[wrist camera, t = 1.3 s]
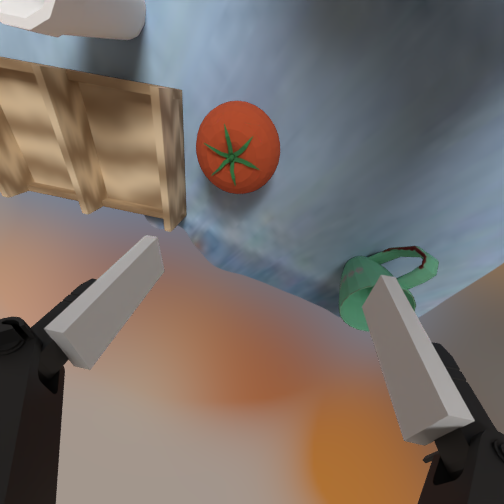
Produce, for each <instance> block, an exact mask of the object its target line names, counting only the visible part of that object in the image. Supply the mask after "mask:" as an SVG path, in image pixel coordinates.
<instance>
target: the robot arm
mask: <svg viewBox="0 0 504 504" xmlns="http://www.w3.org/2000/svg"><path fill="white" fill-rule="evenodd" d="M163 273H164V266H163V261H162V257H161V252H160V247H159V242H158V237H153V236H147V235H145V236H144V237H143V238H142V239H141V240H140V241H139V242H138V243H137V244H136V245H134V246H133V247H132V248H131V249H130V250H129V251H128V252H127V253H126V254H125V255H124V256H122V257H121V258H120V259H119V260H118V261H117V262H116V263H115V264H114V265H113V266H112V267H111V268H109V269H108V270H107V271H106V272H105V273H104V274H103V275H102V276H101V277H100V278H99V279H90V280H89V281H87V282H85V283H83V284H81V285H80V286H78V287H77V288H76V289H75V290H74V291H73V292H71V294H70V295H68V296H67V297H66V298H65V299H64V300H63V301H62V302H60V303H59V304H58V305H57V306H55V307H54V308H53V309H52V310H51V311H50V312H48V313H47V314H46V315H45V316H44V317H43V318H42V319H40V320H39V321H38V322H37V323H36V324H35V325H34V326H32V327H31V328H30V327H29V326H28V325H27V324H26V322H25V321H24V320H23V319H21V318H20V317H8V318H3V319H0V504H56V491H57V476H58V462H59V446H60V432H61V419H62V418H61V417H62V404H63V390H64V376H65V369H64V366H63V365H64V364H65V363H66V362H67V360H68V359H69V360H70V361H71V363H72V364H73V365H74V366H76V367H81V368H85V369H89V370H90V369H91V368H92V367H93V365H94V364H95V363H96V361H97V360H98V358H99V357H100V356H101V355H102V353H103V352H104V351H105V350H106V348H107V347H108V345H109V344H110V343H111V341H112V340H113V339H114V337H115V336H116V335H117V333H118V332H119V331H120V330H121V328H122V327H123V326H124V324H125V323H126V322H127V320H128V319H129V318H130V316H131V315H132V314H133V312H134V311H135V310H136V308H137V307H138V306H139V304H140V303H141V302H142V300H143V299H144V298H145V297H146V295H147V294H148V293H149V291H150V290H151V289H152V287H153V286H154V285H155V283H156V282H157V281H158V279H159V278H160V277H161V275H162V274H163ZM362 309H363V312H364V315H365V318H366V322H367V325H368V328H369V331H370V334H371V337H372V341H373V344H374V347H375V350H376V353H377V357H378V360H379V363H380V366H381V369H382V372H383V376H384V379H385V382H386V385H387V388H388V391H389V394H390V398H391V401H392V404H393V407H394V410H395V413H396V417H397V420H398V423H399V426H400V429H401V433H402V436H403V439H404V441H407V442H412V443H416V444H420V445H427V444H429V443H431V442H433V441H435V444H436V446H437V448H438V451H437V452H434V453H432V454H430V455H427V456H425V458H424V459H423V461H424V462H425V463H427V462H430V461H432V463H431V466H430V469H429V472H428V475H427V478H426V481H425V484H424V486H423V489H422V492H421V495H420V498H419V501H418V504H504V434H502V433H500V432H498V431H497V430H496V428H495V426H494V425H493V423H492V422H491V420H490V418H489V417H488V415H487V414H486V412H485V410H484V409H483V407H482V405H481V404H480V402H479V400H478V399H477V397H476V395H475V394H474V392H473V390H472V389H471V387H470V386H469V384H468V383H467V382H466V379H465V377H464V375H463V374H462V372H460V371H459V367H458V365H457V364H456V362H455V361H454V359H453V357H452V356H451V355H450V354H449V353H448V352H447V350H446V349H445V348H444V347H443V346H442V345H441V344H438V343H432V342H431V341H430V339H429V337H428V335H427V334H426V332H425V330H424V328H423V326H422V325H421V323H420V321H419V319H418V317H417V316H416V314H415V312H414V310H413V308H412V306H411V305H410V303H409V301H408V299H407V297H406V296H405V294H404V292H403V290H402V288H401V287H400V285H399V283H398V281H397V279H396V278H395V277H391V276H386V275H381V276H380V277H379V279H378V281H377V282H376V284H375V286H374V287H373V289H372V291H371V292H370V294H369V296H368V298H367V299H366V301H365V303H364V304H363V306H362Z"/></svg>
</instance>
